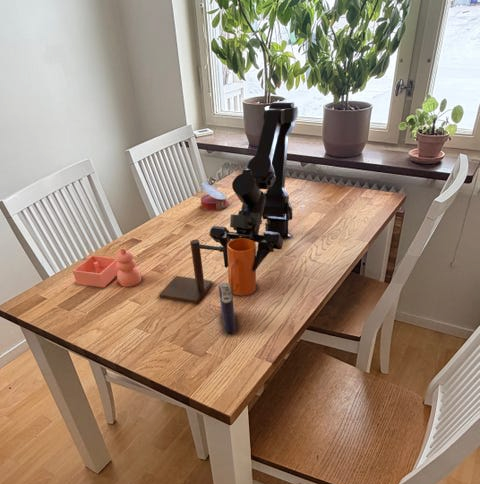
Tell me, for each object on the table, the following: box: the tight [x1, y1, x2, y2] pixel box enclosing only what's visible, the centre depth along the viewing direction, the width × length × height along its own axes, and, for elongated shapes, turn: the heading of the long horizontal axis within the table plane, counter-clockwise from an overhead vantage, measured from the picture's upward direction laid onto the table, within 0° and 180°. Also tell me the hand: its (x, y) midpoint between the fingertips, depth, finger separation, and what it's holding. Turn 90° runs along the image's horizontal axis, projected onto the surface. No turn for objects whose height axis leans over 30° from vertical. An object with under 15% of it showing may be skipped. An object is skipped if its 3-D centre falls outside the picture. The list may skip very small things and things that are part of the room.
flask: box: [218, 282, 237, 336], centre depth 101 cm, size 9×3×11 cm, turn 8°
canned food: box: [200, 181, 228, 212], centre depth 164 cm, size 11×10×10 cm
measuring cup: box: [227, 238, 257, 296], centre depth 111 cm, size 11×7×13 cm, turn 158°
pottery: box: [72, 248, 142, 288], centre depth 122 cm, size 18×10×10 cm, turn 72°
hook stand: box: [158, 239, 224, 304], centre depth 112 cm, size 10×18×15 cm, turn 70°
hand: (239, 269), depth 111 cm, fingers closed on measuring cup, 7 cm apart
